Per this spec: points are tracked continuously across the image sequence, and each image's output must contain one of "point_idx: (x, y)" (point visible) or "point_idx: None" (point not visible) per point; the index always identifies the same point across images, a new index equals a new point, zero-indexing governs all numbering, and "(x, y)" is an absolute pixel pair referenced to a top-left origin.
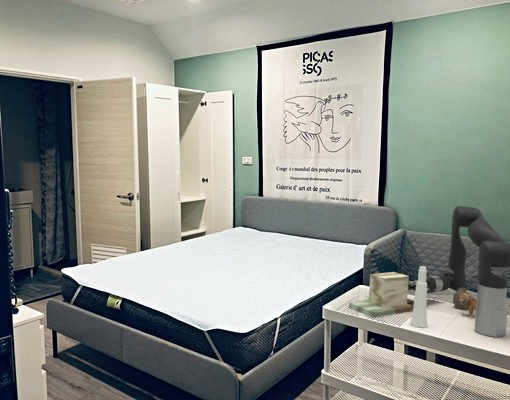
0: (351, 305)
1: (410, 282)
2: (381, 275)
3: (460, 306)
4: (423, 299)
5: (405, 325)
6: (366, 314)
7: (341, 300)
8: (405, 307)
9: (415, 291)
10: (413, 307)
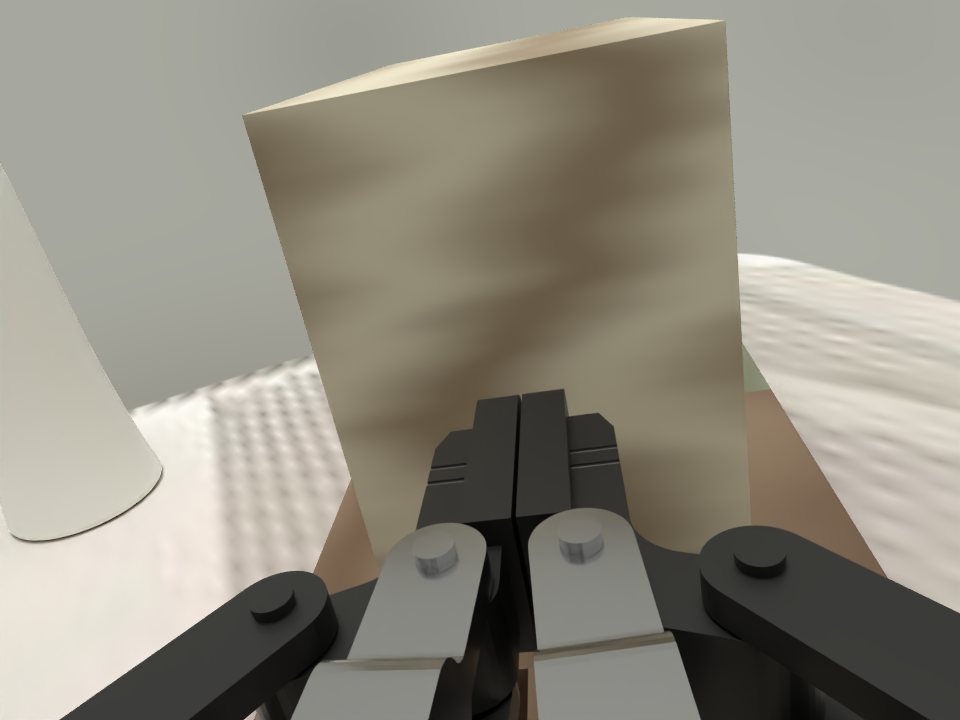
0: None
1: (649, 637)
2: (528, 40)
3: None
4: None
5: (180, 428)
6: None
7: (950, 319)
8: (328, 544)
9: (12, 188)
10: (87, 340)
